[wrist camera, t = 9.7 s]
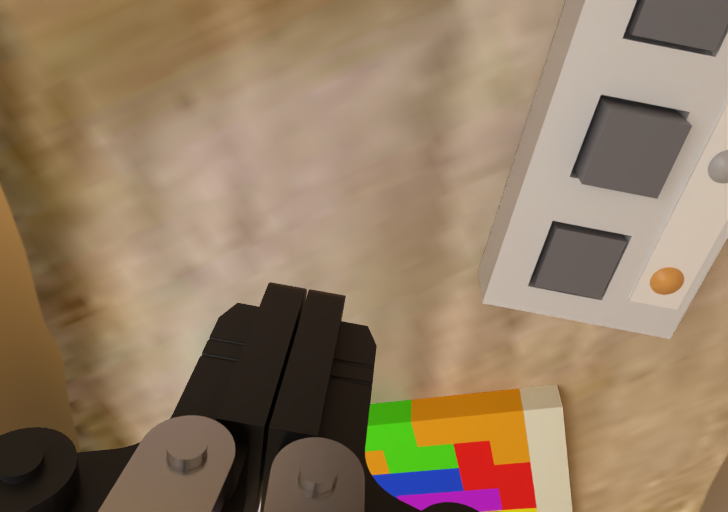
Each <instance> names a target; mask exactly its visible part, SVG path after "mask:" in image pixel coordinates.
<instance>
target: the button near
mask: <svg viewBox="0 0 728 512" xmlns="http://www.w3.org/2000/svg"><path fill="white" fill-rule="evenodd" d="M727 25H728V0H637V2H636V4H635V7H634V9H633V12H632V15H631V17H630V20H629V22H628V25H627V28H626V31H627V32H629V33H630V34H631V35H634V36H639V37H644V38H649V39H654V40H659V41H664V42H669V43H675V44H680V45H685V46H690V47H695V48H700V49H705V50H710V51H716V49H717V47H718V45H719V43H720V40H721V38H722V36H723V34H724V32H725V30H726V27H727Z"/></svg>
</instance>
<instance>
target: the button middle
mask: <svg viewBox="0 0 728 512" xmlns="http://www.w3.org/2000/svg"><path fill="white" fill-rule="evenodd" d="M691 127H692V125H691V124H690V123H689V122H688V121H687V120H686V119H685V118H684V117H683V116H682V115H681V114H679V113H678V112H677V111H676V110H675V109H672V108H667V107H662V106H657V105H652V104H646V103H641V102H636V101H631V100H626V99H621V98H616V97H611V96H606V95H601V96H600V98H599V101H598V104H597V106H596V109H595V111H594V114H593V117H592V119H591V122H590V125H589V127H588V130H587V132H586V135H585V138H584V140H583V143H582V145H581V148H580V151H579V153H578V156H577V159H576V161H575V164H574V166H573V168H574V170H575V172H576V174H577V176H578V178H579V180H580V182H581V184H584V185H589V186H594V187H599V188H604V189H610V190H615V191H620V192H625V193H630V194H635V195H640V196H646V197H651V198H656V199H658V197H659V195H660V192H661V190H662V188H663V186H664V184H665V182H666V180H667V178H668V176H669V174H670V171H671V169H672V167H673V165H674V163H675V161H676V159H677V157H678V155H679V153H680V150H681V148H682V146H683V144H684V142H685V140H686V138H687V136H688V134H689V132H690V129H691Z"/></svg>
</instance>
